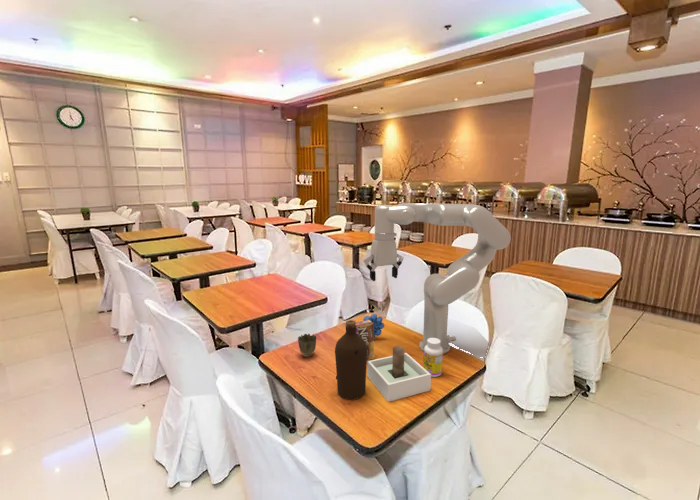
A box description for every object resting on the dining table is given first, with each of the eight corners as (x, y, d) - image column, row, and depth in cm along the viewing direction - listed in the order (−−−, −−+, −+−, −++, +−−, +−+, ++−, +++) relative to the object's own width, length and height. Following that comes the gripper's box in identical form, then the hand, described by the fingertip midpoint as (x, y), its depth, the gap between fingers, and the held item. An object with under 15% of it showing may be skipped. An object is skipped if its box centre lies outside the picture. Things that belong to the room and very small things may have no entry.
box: (406, 367, 135) (406, 352, 134) (430, 390, 121) (431, 374, 119) (367, 376, 129) (367, 361, 128) (388, 401, 115) (388, 385, 114)
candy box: (369, 354, 145) (369, 319, 142) (374, 359, 141) (374, 323, 138) (349, 359, 141) (348, 323, 138) (354, 364, 138) (353, 327, 134)
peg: (400, 376, 127) (400, 345, 125) (405, 382, 124) (406, 350, 121) (390, 378, 126) (390, 347, 123) (395, 384, 122) (396, 352, 120)
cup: (295, 358, 143) (294, 339, 141) (304, 350, 149) (303, 332, 148) (311, 361, 140) (311, 342, 138) (320, 353, 147) (319, 335, 145)
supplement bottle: (419, 370, 133) (420, 338, 130) (434, 366, 136) (435, 335, 133) (430, 379, 127) (431, 346, 124) (445, 375, 130) (447, 342, 127)
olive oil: (373, 390, 121) (373, 321, 116) (353, 405, 113) (352, 332, 108) (349, 379, 128) (349, 313, 123) (329, 392, 120) (327, 323, 115)
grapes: (382, 334, 163) (383, 310, 160) (385, 341, 156) (385, 315, 154) (357, 335, 162) (357, 310, 160) (358, 342, 155) (358, 316, 153)
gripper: (398, 233, 147) (398, 274, 151) (360, 237, 141) (360, 278, 144) (408, 236, 140) (407, 278, 144) (368, 240, 134) (368, 283, 137)
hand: (383, 278), depth 144 cm, fingers open, 9 cm apart
